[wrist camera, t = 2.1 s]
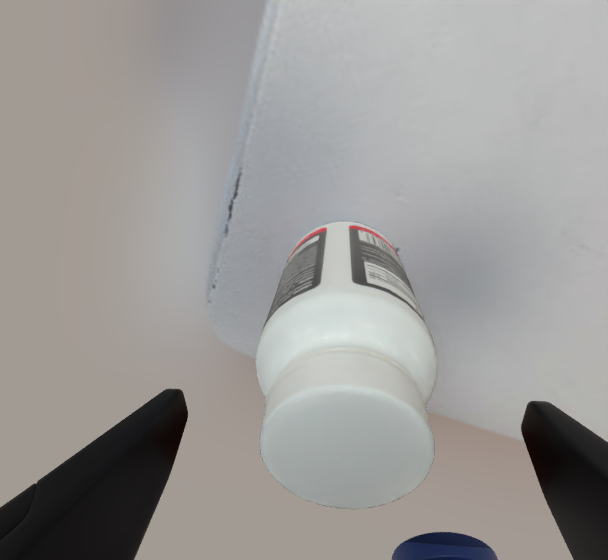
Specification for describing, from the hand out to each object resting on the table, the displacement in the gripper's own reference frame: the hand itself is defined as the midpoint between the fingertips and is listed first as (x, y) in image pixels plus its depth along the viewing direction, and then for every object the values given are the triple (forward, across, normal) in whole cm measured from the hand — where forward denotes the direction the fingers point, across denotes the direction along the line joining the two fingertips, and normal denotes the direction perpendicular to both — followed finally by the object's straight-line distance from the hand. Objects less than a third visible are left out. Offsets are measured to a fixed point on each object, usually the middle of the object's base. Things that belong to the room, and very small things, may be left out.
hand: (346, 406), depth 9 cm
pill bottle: (+8, 0, 0) cm, 8 cm away
